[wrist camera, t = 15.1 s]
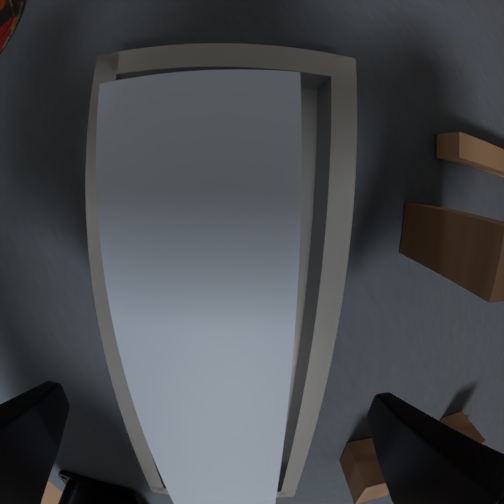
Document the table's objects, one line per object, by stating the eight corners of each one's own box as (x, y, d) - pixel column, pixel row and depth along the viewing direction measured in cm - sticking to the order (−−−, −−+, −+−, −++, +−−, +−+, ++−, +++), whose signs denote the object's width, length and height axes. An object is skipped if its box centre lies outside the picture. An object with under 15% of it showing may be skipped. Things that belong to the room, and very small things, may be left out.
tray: (157, 467, 13) (152, 492, 11) (119, 73, 8) (97, 55, 6) (289, 470, 14) (293, 496, 12) (335, 76, 9) (355, 58, 7)
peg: (189, 461, 12) (183, 521, 9) (150, 117, 8) (99, 83, 5) (264, 461, 13) (272, 522, 9) (273, 113, 9) (300, 72, 5)
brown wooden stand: (339, 461, 14) (362, 526, 9) (408, 126, 9) (506, 109, 4) (450, 430, 14) (482, 475, 9) (525, 167, 10) (595, 177, 5)
